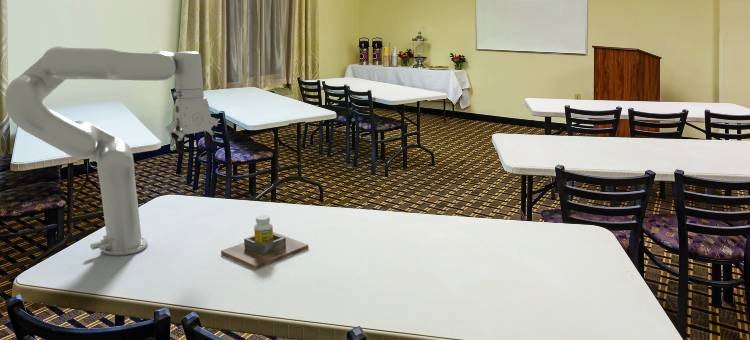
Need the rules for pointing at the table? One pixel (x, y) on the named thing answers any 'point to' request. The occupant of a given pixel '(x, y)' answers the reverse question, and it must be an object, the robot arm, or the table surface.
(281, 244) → the board with square frame
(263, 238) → the supplement bottle
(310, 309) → the table surface
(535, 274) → the table surface
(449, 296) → the table surface
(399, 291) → the table surface
